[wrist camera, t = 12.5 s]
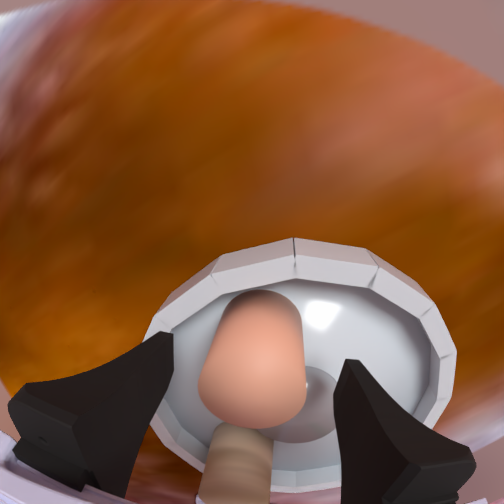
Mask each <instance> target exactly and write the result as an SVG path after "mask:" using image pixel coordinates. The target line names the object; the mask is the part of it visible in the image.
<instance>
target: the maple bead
mask: <svg viewBox="0 0 504 504" xmlns="http://www.w3.org/2000/svg"><path fill="white" fill-rule="evenodd" d="M273 446H274V440H272V439H270V438H268V437H266V436H264V435H263V434H261V433H260V432H259V431H258V430H257V429H251V428H243V427H238V426H235V425H232V424H229V423H227V422H223V423H221V424H219V425H218V426H217V427H216V428H215V430H214V432H213V436H212V440H211V444H210V448H209V452H208V456H207V460H206V464H205V468H204V472H203V475H202V479H201V483H200V487H199V491H198V496H199V498H200V499H201V500H202V501H203V502H204V503H205V504H269V501H270V489H271V475H272V461H273Z"/></svg>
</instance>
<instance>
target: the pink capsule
mask: <svg viewBox="0 0 504 504" xmlns="http://www.w3.org/2000/svg"><path fill="white" fill-rule="evenodd" d="M198 393H199V396H200V399H201V401H202V402H203V404H204V405H205V407H206V408H207V409H208V410H209V411H210V412H211V413H212V414H213V415H215V416H216V417H218V418H219V419H221V420H223V421H225V422H227V423H229V424H232V425H235V426H238V427H243V428H251V429H262V428H270V427H274V426H278V425H280V424H283V423H285V422H287V421H289V420H290V419H292V418H293V417H294V416H296V415H297V414H298V413H299V411H300V410H301V409H302V407H303V406H304V403H305V400H306V393H307V390H306V373H305V357H304V343H303V329H302V319H301V316H300V313H299V311H298V309H297V307H296V306H295V305H294V304H293V303H292V301H290V300H289V299H288V298H287V297H285V296H283V295H282V294H279V293H277V292H274V291H270V290H263V289H257V290H250V291H246V292H244V293H241V294H239V295H237V296H236V297H234V298H233V299H232V300H231V301H230V302H229V303H228V304H227V306H226V307H225V309H224V311H223V314H222V317H221V319H220V322H219V325H218V327H217V330H216V333H215V336H214V338H213V341H212V344H211V346H210V349H209V352H208V355H207V357H206V360H205V363H204V365H203V368H202V371H201V374H200V376H199V380H198Z"/></svg>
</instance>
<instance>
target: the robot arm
mask: <svg viewBox="0 0 504 504" xmlns="http://www.w3.org/2000/svg"><path fill="white" fill-rule="evenodd" d="M173 372H174V334H173V333H168V332H163V331H159V332H157V333H156V334H154V335H153V336H151V337H150V338H148V339H147V340H145V341H144V342H142V343H141V344H139V345H138V346H136V347H135V348H133V349H131V350H130V351H128V352H127V353H125V354H123V355H121V356H119V357H118V358H116V359H114V360H112V361H110V362H108V363H106V364H104V365H102V366H99V367H97V368H95V369H92V370H89V371H86V372H83V373H80V374H77V375H74V376H70V377H66V378H62V379H56V380H51V381H43V382H33V383H26V384H25V385H24V386H23V387H22V388H21V389H20V390H19V391H18V392H17V393H16V394H15V395H14V397H13V398H12V399H11V400H10V401H9V403H8V412H9V414H10V417H11V419H12V421H13V423H14V425H15V427H16V429H17V431H18V432H19V434H20V436H21V439H20V440H19V441H18V443H17V442H16V441H15V440H14V439H13V438H12V437H11V436H9V435H8V434H6V433H5V432H3V431H1V430H0V504H138V503H135V502H131V501H128V500H126V499H124V498H125V494H126V490H127V486H128V483H129V479H130V476H131V473H132V469H133V466H134V463H135V460H136V457H137V454H138V451H139V448H140V446H141V443H142V440H143V437H144V435H145V432H146V430H147V428H148V426H149V424H150V422H151V420H152V418H153V416H154V415H155V413H156V411H157V409H158V407H159V405H160V403H161V401H162V399H163V397H164V395H165V393H166V391H167V389H168V387H169V384H170V381H171V378H172V375H173ZM333 413H334V420H335V426H336V432H337V438H338V444H339V451H340V458H341V504H456V503H455V501H457V500H458V499H459V496H458V493H457V491H458V490H459V489H460V488H461V487H462V486H463V485H464V484H465V483H466V482H467V480H468V479H469V478H470V477H471V476H472V474H473V473H474V471H475V469H476V462H475V459H474V457H473V455H472V453H471V450H470V448H469V447H467V446H465V445H462V444H460V443H457V442H455V441H453V440H450V439H448V438H446V437H444V436H442V435H440V434H439V433H437V432H435V431H433V430H432V429H430V428H429V427H427V426H426V425H424V424H423V423H421V422H420V421H418V420H417V419H416V418H414V417H413V416H412V415H411V414H409V413H408V412H407V411H406V410H404V409H403V408H402V407H401V406H400V405H399V404H398V403H397V402H396V401H395V400H394V399H393V398H392V397H391V396H390V395H389V394H388V393H387V392H386V391H385V390H384V389H383V387H382V386H381V385H380V384H379V383H378V382H377V381H376V379H375V378H374V377H373V376H372V375H371V373H370V372H369V371H368V370H367V368H366V367H365V366H364V365H363V364H362V362H361V361H360V360H357V359H345V361H344V364H343V367H342V370H341V373H340V376H339V379H338V381H337V384H336V387H335V390H334V393H333ZM196 504H205V503H204V502H203V501H202V500H201V499H200V498H199V496H198V495H196ZM465 504H488V503H487V501H486V498H482V499H478V500H475V501H472V502H468V503H465Z"/></svg>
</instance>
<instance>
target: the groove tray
mask: <svg viewBox="0 0 504 504" xmlns="http://www.w3.org/2000/svg"><path fill="white" fill-rule="evenodd" d="M257 289H263V290H270V291H274V292H277V293H279V294H282V295H283V296H285V297H287V298H288V299H289V300H290V301H292V303H293V304H294V305H295V306H296V307H297V309H298V311H299V313H300V316H301V319H302V329H303V343H304V357H305V373H306V390H307V393H306V400H305V403H304V406H303V407H302V409H301V410H300V411H299V413H298V414H297V415H296V416H294V417H293V418H292V419H290V420H289V421H287V422H285V423H283V424H280V425H278V426H274V427H270V428H262V429H257V430H258V431H259V432H260V433H261V434H263V435H264V436H266V437H268V438H270V439H272V440H274V446H273V461H272V475H271V489H270V491H274V492H287V493H295V492H296V493H300V492H308V491H316V490H322V489H329V488H335V487H340V486H341V458H340V451H339V444H338V438H337V432H336V426H335V420H334V413H333V393H334V390H335V387H336V384H337V381H338V379H339V376H340V373H341V370H342V367H343V364H344V361H345V359H357V360H360V361H361V362H362V364H363V365H364V366H365V367H366V368H367V370H368V371H369V372H370V373H371V375H372V376H373V377H374V378H375V379H376V381H377V382H378V383H379V384H380V385H381V386H382V387H383V389H384V390H385V391H386V392H387V393H388V394H389V395H390V396H391V397H392V398H393V399H394V400H395V401H396V402H397V403H398V404H399V405H400V406H401V407H402V408H403V409H404V410H406V411H407V412H408V413H409V414H411V415H412V416H413V417H414V418H416V419H417V420H418V421H420V422H421V423H423V424H424V425H426V426H427V427H429V428H430V429H432V428H433V426H434V425H435V423H436V422H437V420H438V419H439V417H440V415H441V414H442V412H443V411H444V409H445V407H446V406H447V404H448V402H449V400H450V399H451V396H452V389H453V382H454V374H455V365H456V355H457V350H456V348H455V345H454V343H453V341H452V339H451V336H450V334H449V332H448V330H447V328H446V325H445V323H444V321H443V319H442V317H441V315H440V313H439V311H438V309H437V307H436V305H435V303H434V302H433V301H432V300H431V299H430V297H429V296H428V295H427V294H426V293H425V292H424V290H423V289H422V288H421V287H420V286H419V285H418V283H417V282H415V281H414V280H413V279H411V278H410V277H408V276H407V275H405V274H404V273H402V272H401V271H399V270H398V269H396V268H395V267H393V266H392V265H390V264H389V263H387V262H386V261H384V260H383V259H381V258H379V257H378V256H376V255H375V254H373V253H372V252H370V251H369V250H367V249H365V248H359V247H353V246H346V245H340V244H333V243H326V242H320V241H313V240H306V239H299V238H294V242H293V238H290V239H285V240H281V241H277V242H273V243H269V244H265V245H261V246H256V247H252V248H248V249H244V250H240V251H236V252H232V253H228V254H224V255H222V256H219V257H218V258H217V259H215V260H214V261H213V262H211V263H210V264H209V265H207V266H206V267H205V268H204V269H202V270H201V271H200V272H198V273H197V274H196V275H194V276H193V277H192V278H190V279H189V280H188V281H186V282H185V283H184V284H182V285H181V286H180V287H178V288H177V289H176V290H174V291H173V292H172V293H171V294H170V295H169V297H168V298H167V299H166V301H165V302H164V303H163V305H162V306H161V307H160V309H159V310H158V311H157V313H156V314H155V316H154V317H153V320H152V322H151V324H150V326H149V328H148V331H147V333H146V335H145V337H144V339H143V342H144V341H145V340H147V339H148V338H150V337H151V336H153V335H154V334H156V333H157V332H159V331H163V332H168V333H173V334H174V372H173V375H172V378H171V381H170V384H169V387H168V389H167V391H166V393H165V395H164V397H163V399H162V401H161V403H160V405H159V407H158V409H157V411H156V413H155V415H154V416H153V418H152V420H151V422H150V425H151V427H152V428H153V430H154V431H155V433H156V434H157V436H158V437H159V439H160V440H161V441H162V443H163V444H164V445H165V446H166V447H167V448H169V449H170V450H171V451H173V452H174V453H175V454H177V455H178V456H179V457H181V458H182V459H183V460H185V461H186V462H188V463H189V464H190V465H192V466H193V467H195V468H196V469H198V470H199V471H200V472H202V473H203V472H204V468H205V464H206V460H207V456H208V452H209V448H210V444H211V440H212V436H213V432H214V430H215V428H216V427H217V426H218V425H219V424H221V423H223V422H225V421H223V420H221V419H219V418H218V417H216V416H215V415H213V414H212V413H211V412H210V411H209V410H208V409H207V408H206V407H205V405H204V404H203V402H202V401H201V399H200V396H199V393H198V380H199V376H200V374H201V371H202V368H203V365H204V363H205V360H206V357H207V355H208V352H209V349H210V346H211V344H212V341H213V338H214V336H215V333H216V330H217V327H218V325H219V322H220V319H221V317H222V314H223V311H224V309H225V307H226V306H227V304H228V303H229V302H230V301H231V300H232V299H233V298H234V297H236V296H237V295H239V294H241V293H244V292H246V291H250V290H257Z"/></svg>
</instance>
